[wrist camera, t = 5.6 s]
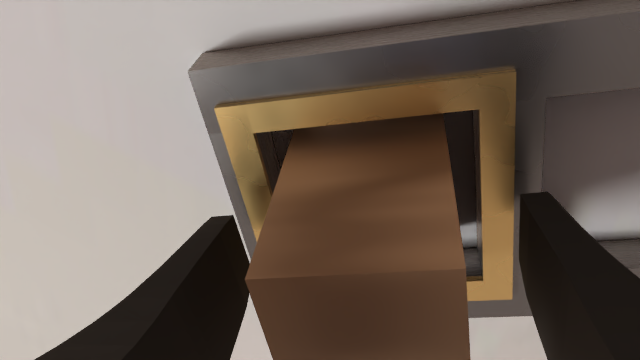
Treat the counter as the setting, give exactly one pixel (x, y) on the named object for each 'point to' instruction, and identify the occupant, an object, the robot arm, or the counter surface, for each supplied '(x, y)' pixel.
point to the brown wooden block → (363, 246)
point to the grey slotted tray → (427, 109)
